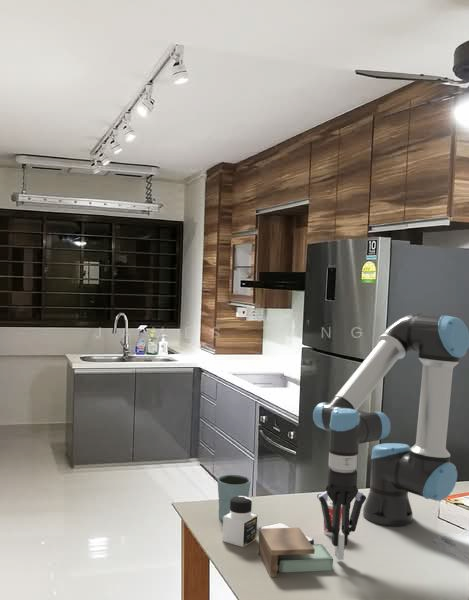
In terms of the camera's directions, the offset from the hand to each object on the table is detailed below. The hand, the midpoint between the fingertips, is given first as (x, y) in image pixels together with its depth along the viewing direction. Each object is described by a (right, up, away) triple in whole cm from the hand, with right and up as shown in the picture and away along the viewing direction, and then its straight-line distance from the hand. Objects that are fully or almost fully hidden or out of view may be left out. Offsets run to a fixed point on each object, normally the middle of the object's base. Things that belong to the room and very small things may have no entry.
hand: (339, 557), depth 172 cm
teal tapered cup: (-28, +1, +28) cm, 40 cm away
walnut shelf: (-14, -1, -3) cm, 15 cm away
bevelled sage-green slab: (-10, -1, -2) cm, 10 cm away
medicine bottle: (-26, 0, +11) cm, 28 cm away
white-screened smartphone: (-13, -1, +15) cm, 20 cm away
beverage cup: (+1, -1, +19) cm, 19 cm away
